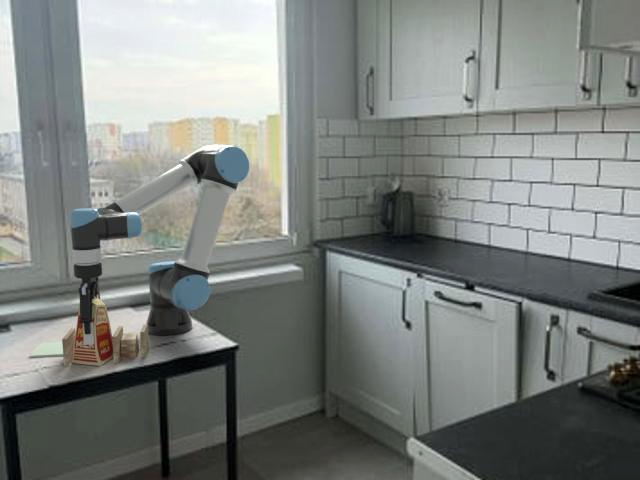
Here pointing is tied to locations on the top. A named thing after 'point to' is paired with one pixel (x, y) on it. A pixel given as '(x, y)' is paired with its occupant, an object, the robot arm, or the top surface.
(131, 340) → the offcut top
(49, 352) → the mat
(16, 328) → the top surface
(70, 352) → the rack
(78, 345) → the milk carton
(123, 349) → the offcut middle
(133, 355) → the block
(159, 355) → the top surface
